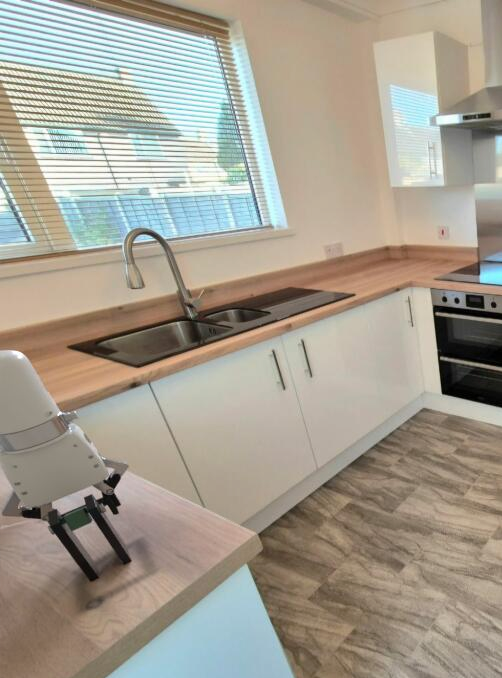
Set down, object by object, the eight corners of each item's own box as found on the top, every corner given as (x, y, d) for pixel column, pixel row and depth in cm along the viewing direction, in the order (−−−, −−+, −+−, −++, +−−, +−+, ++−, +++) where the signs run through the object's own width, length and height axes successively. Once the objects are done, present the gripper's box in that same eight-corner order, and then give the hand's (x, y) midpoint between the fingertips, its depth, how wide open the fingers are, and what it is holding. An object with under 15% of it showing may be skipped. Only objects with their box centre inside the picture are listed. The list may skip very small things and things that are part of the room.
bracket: (76, 569, 68) (32, 509, 63) (138, 539, 74) (102, 481, 68) (84, 606, 62) (35, 543, 57) (151, 570, 67) (112, 509, 62)
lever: (66, 525, 70) (59, 512, 70) (109, 506, 74) (102, 494, 73) (55, 538, 60) (46, 523, 60) (105, 516, 64) (97, 502, 64)
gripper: (102, 401, 72) (149, 485, 80) (-53, 449, 61) (19, 541, 69) (109, 415, 68) (158, 503, 76) (-57, 470, 56) (21, 565, 64)
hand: (91, 520), depth 72 cm, fingers closed on lever, 5 cm apart
